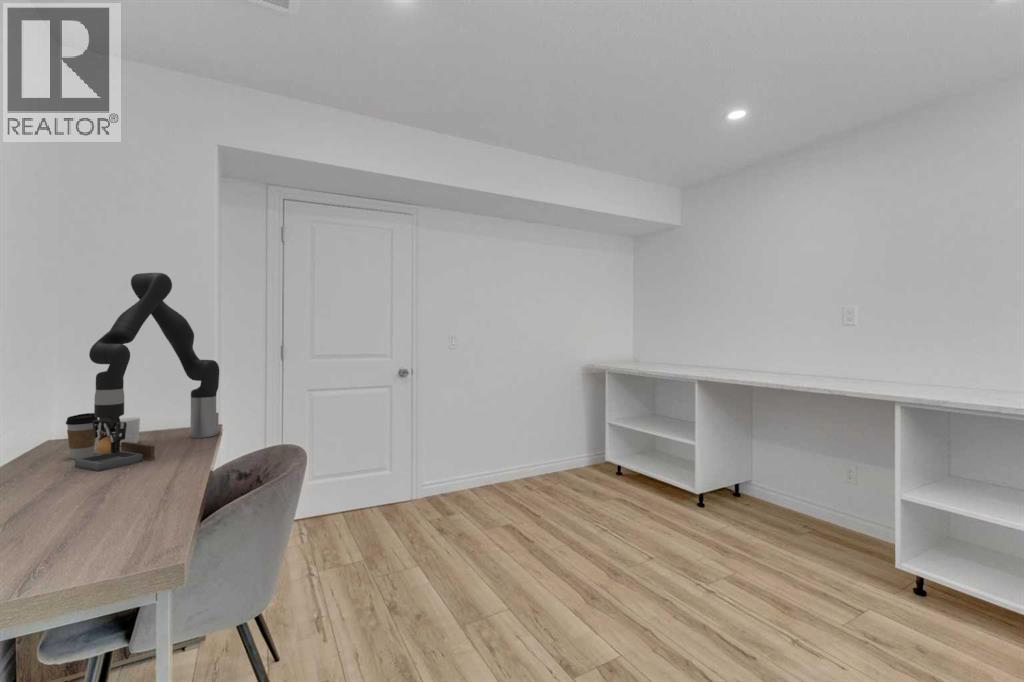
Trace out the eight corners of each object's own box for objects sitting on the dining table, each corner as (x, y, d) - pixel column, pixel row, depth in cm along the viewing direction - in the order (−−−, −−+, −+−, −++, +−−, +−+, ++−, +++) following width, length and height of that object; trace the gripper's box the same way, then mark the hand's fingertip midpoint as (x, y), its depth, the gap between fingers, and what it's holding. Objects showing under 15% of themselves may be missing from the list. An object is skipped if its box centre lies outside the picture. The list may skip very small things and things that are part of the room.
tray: (119, 457, 159) (119, 450, 159) (142, 461, 155) (142, 454, 155) (74, 467, 147) (74, 459, 147) (98, 471, 143) (98, 463, 143)
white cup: (118, 442, 180) (118, 417, 180) (142, 440, 184) (142, 416, 184) (110, 446, 173) (110, 421, 173) (136, 445, 177) (136, 420, 176)
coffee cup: (104, 454, 163) (104, 413, 163) (80, 460, 154) (80, 417, 154) (84, 453, 164) (84, 412, 164) (58, 459, 155) (58, 416, 155)
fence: (125, 454, 162) (125, 441, 162) (154, 459, 157) (154, 445, 157) (121, 455, 161) (121, 442, 161) (150, 460, 156) (150, 446, 156)
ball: (113, 451, 155) (114, 433, 155) (125, 452, 153) (125, 435, 153) (92, 455, 149) (92, 437, 149) (104, 457, 147) (104, 439, 147)
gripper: (136, 402, 152) (135, 451, 152) (109, 399, 157) (108, 447, 157) (110, 405, 145) (109, 456, 145) (82, 402, 150) (82, 452, 150)
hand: (109, 451), depth 151 cm, fingers closed on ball, 6 cm apart
